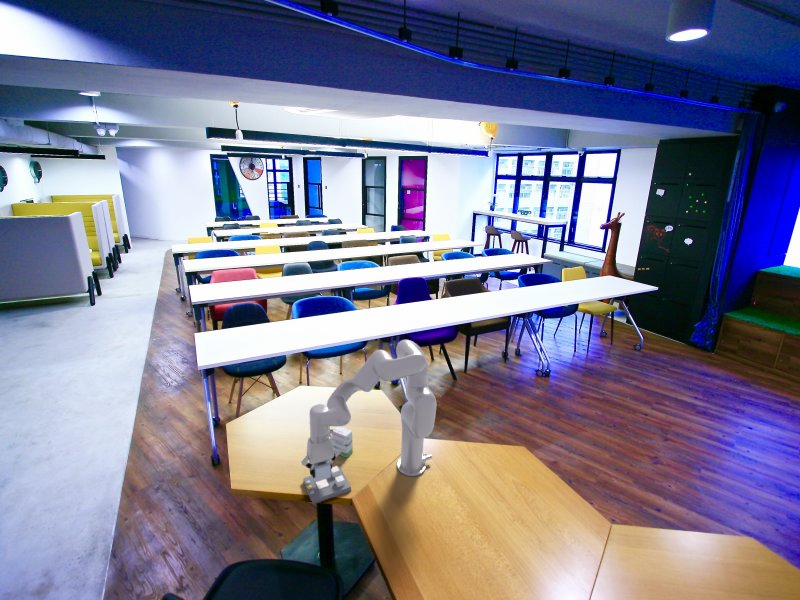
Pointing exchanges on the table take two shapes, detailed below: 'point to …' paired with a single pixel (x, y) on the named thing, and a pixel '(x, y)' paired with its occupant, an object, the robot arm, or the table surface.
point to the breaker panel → (336, 487)
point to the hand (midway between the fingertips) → (321, 472)
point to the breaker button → (322, 484)
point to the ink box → (342, 441)
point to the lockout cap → (322, 470)
